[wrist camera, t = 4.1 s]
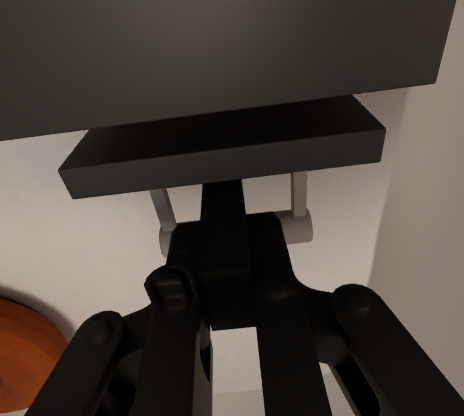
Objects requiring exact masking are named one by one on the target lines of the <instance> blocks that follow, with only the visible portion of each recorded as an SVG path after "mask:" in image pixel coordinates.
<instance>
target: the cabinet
mask: <svg viewBox="0 0 464 416" xmlns="http://www.w3.org/2000/svg"><path fill="white" fill-rule="evenodd" d="M455 3H456V0H0V141H5V140H12V139H20V138H27V137H35V136H43V135H50V134H58V133H65V132H73V131H80V130H88V129H95V128H103V127H110V126H118V125H126V124H133V123H141V122H148V121H156V120H163V119H171V118H178V117H186V116H194V115H201V114H209V113H216V112H224V111H231V110H239V109H246V108H254V107H262V106H269V105H277V104H284V103H292V102H299V101H307V100H314V99H322V98H330V97H337V96H345V95H352V94H360V93H367V92H375V91H382V90H390V89H397V88H405V87H413V86H420V85H428V84H434V83H435V82H436V79H437V75H438V71H439V67H440V63H441V59H442V55H443V51H444V47H445V43H446V39H447V35H448V31H449V27H450V23H451V19H452V15H453V11H454V7H455Z"/></svg>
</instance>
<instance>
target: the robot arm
mask: <svg viewBox="0 0 464 416" xmlns="http://www.w3.org/2000/svg"><path fill="white" fill-rule="evenodd" d="M169 244H170V246H169V249H168V255H167V260H166V265H164V266H161V267H159V268H158V269H156V270H154V271H153V272H152V273H151V274H150V275H149V276H148V277H147V279H146V281H145V283H144V287H145V289H146V292H147V294H148V296H149V298H150V301H151V304H149V305H148V306H147V307H145V308H143V309H141V310H139V311H136V312H134V313H131V314H129V315H126V316H124V317H122V316H121V315H120V314H119V313H117V312H114V311H102V312H99V313H97V314H94V315H93V316H91V317H90V318H88V319H87V320H86V321H84V323H83V324H82V325H81V326H80V327H79V329H78V330H77V332H76V333H75V335H74V336H73V338H72V340H71V341H70V343H69V344H68V346H67V348H66V349H65V351H64V352H63V354H62V356H61V357H60V359H59V361H58V362H57V364H56V365H55V367H54V369H53V370H52V372H51V373H50V375H49V377H48V378H47V380H46V381H45V383H44V385H43V386H42V388H41V389H40V391H39V393H38V394H37V396H36V397H35V399H34V401H33V402H32V404H31V405H30V407H29V409H28V410H27V412H26V413H25V415H24V416H212V380H213V347H212V342H211V339H210V324H211V328H212V331H218V330H228V329H237V328H247V327H256V330H257V340H258V350H259V359H260V369H261V379H262V388H263V397H264V407H265V416H332V412H331V408H330V405H329V400H328V396H327V393H326V388H325V384H324V380H323V377H322V373H321V369H320V365H319V362H321V363H325V364H328V366H329V368H330V370H331V371H332V373H333V375H334V377H335V379H336V381H337V383H338V384H339V386H340V388H341V390H342V392H343V394H344V396H345V398H346V399H347V401H348V403H349V405H350V407H351V409H352V411H353V413H354V414H355V416H464V400H463V398H462V397H461V396H460V395H459V394H458V392H457V391H456V390H455V389H454V387H452V385H451V384H450V383H449V381H448V380H447V379H446V378H445V376H444V375H443V374H442V373H441V371H440V370H439V369H438V368H437V366H436V365H435V364H434V363H433V361H432V360H431V359H430V358H429V357H428V355H427V354H426V353H425V352H424V350H423V349H422V348H421V347H420V345H418V343H417V342H416V341H415V339H414V338H413V337H412V336H411V334H410V333H409V332H408V331H407V330H406V328H405V327H404V326H403V325H402V323H401V322H400V321H399V320H398V319H397V317H396V316H395V315H394V313H393V312H392V311H391V310H390V309H389V307H388V306H387V305H386V304H385V302H384V301H383V300H382V299H381V297H380V296H379V295H378V294H376V293H375V292H374V291H373V290H372V289H370V288H367V287H365V286H363V285H358V284H346V285H342V286H340V287H338V288H337V289H335V291H334V292H333V293H330V292H325V291H319V290H315V289H311V288H309V287H307V286H305V285H303V284H302V283H301V282H299V281H298V279H297V278H296V277H295V275H294V272H293V269H292V265H291V261H290V257H289V253H288V249H287V245H286V241H285V237H284V233H283V229H282V224H281V220H280V219H279V218H278V217H277V216H276V215H275V213H274V212H273V211H271V212H263V213H254V214H246V211H245V202H244V194H243V186H242V179H237V180H229V181H221V182H212V183H204V184H203V186H202V201H201V216H200V221H193V222H185V223H178V224H177V226H176V227H175V228H174V230H173V231H172V233H171V237H170V243H169Z"/></svg>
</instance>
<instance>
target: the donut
mask: <svg viewBox="0 0 464 416" xmlns="http://www.w3.org/2000/svg"><path fill="white" fill-rule="evenodd" d="M67 346H68V344H67V342H66V340H65V338H64V337H63V335H62V333H61V332H60V330H59V329H58V328H57V327H56V326H54V325H53V324H52V323H51V322H50V321H48V320H47V319H46V318H45V317H43V316H41V315H39V314H37V313H35V312H34V311H32V310H30V309H28V308H26V307H24V306H22V305H19V304H16V303H13V302H10V301H7V300H3V299H0V413H8V412H13V411H18V410H22V409H25V408H29V407H30V405H31V404H32V402H33V401H34V399H35V397H36V396H37V394H38V393H39V391H40V389H41V388H42V386H43V385H44V383H45V381H46V380H47V378H48V377H49V375H50V373H51V372H52V370H53V369H54V367H55V365H56V364H57V362H58V361H59V359H60V357H61V356H62V354H63V352H64V351H65V349H66V348H67Z"/></svg>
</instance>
